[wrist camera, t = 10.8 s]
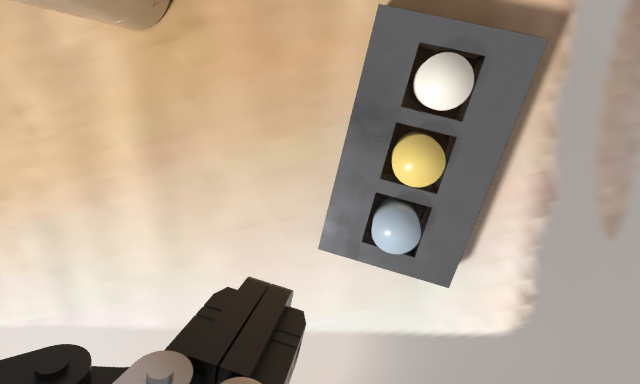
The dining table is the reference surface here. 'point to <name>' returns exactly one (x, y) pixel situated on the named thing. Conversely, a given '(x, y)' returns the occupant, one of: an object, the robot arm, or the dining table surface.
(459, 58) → the button ivory
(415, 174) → the button mustard
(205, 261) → the dining table surface
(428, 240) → the panel
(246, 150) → the dining table surface
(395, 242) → the button blue
